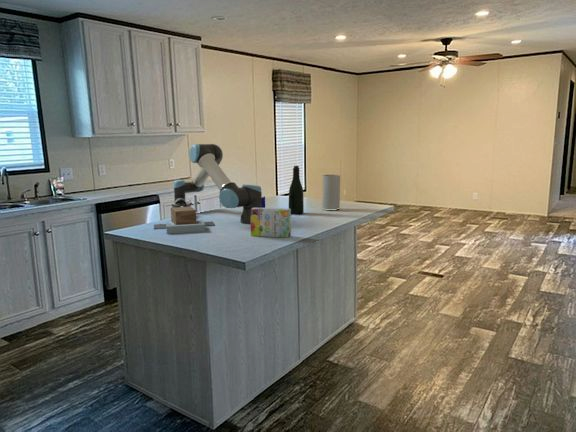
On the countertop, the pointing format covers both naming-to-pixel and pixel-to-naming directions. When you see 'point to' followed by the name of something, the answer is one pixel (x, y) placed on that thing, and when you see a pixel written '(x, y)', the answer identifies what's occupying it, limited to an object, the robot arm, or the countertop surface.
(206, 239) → the countertop surface
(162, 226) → the mats
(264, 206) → the puzzle cube
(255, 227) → the snack box
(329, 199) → the cylinder vase
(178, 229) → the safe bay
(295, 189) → the beer bottle
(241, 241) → the countertop surface
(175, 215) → the walnut block
